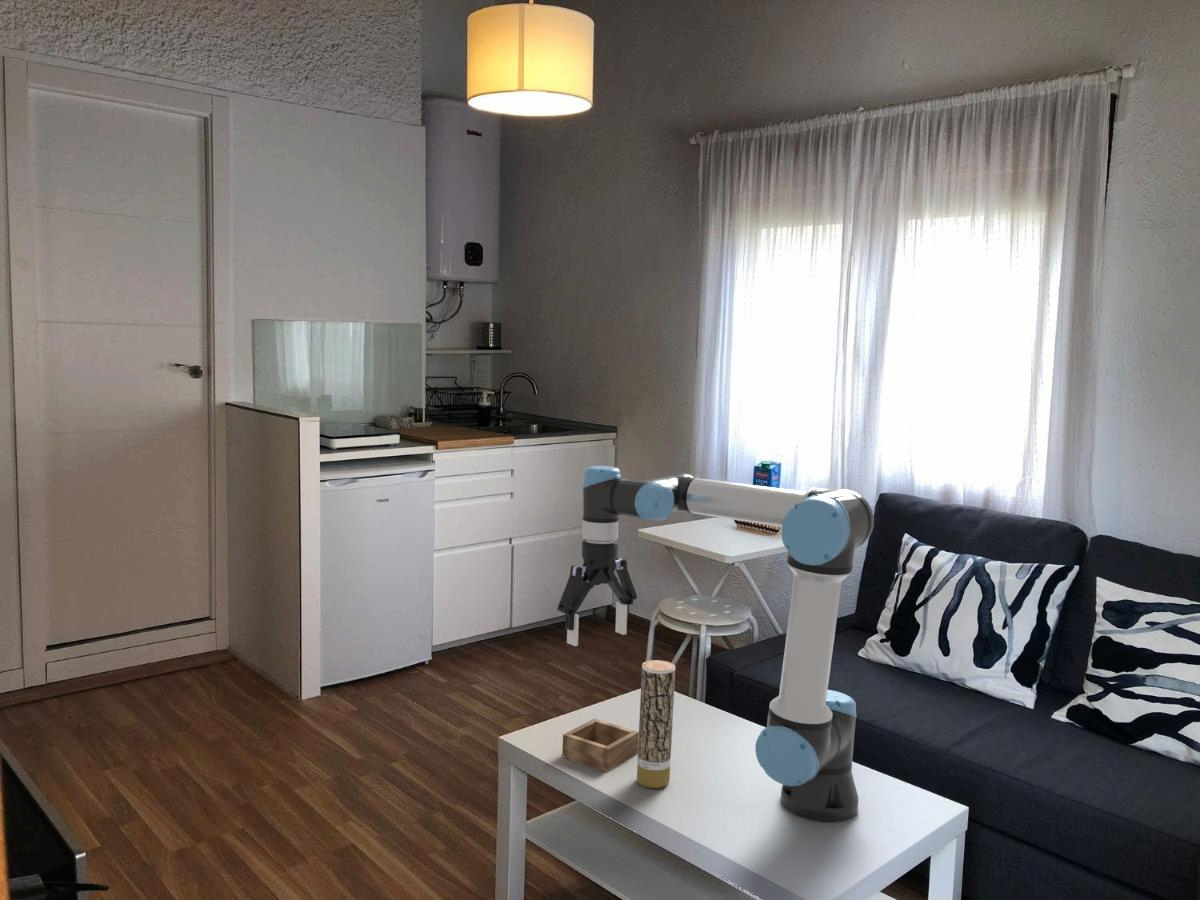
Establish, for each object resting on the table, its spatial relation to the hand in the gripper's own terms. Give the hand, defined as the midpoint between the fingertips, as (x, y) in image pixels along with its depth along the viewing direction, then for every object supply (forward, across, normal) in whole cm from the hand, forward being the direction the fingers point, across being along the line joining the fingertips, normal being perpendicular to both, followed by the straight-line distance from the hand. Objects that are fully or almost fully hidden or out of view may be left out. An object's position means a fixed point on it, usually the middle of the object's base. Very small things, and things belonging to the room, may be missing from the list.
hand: (597, 638), depth 213 cm
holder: (+28, -4, -2) cm, 28 cm away
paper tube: (+28, -4, +14) cm, 32 cm away
